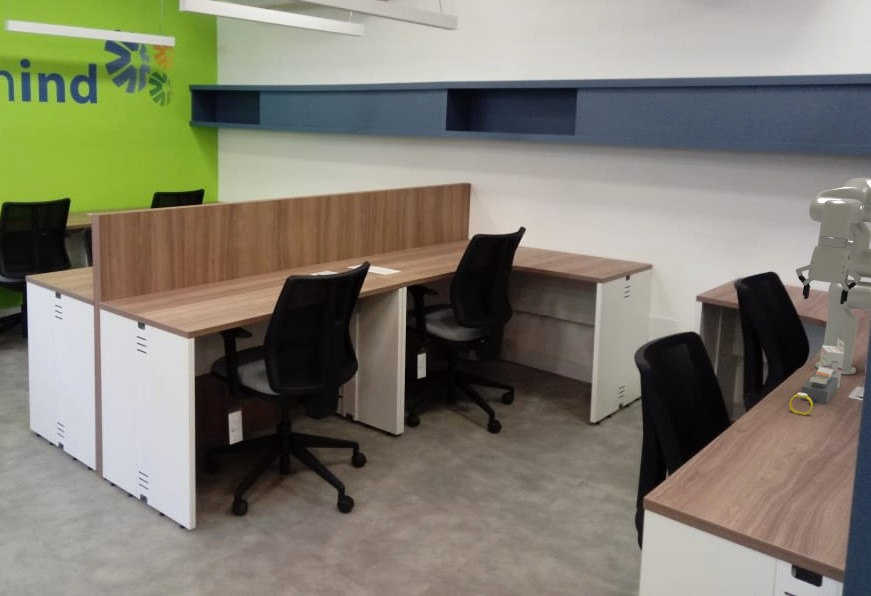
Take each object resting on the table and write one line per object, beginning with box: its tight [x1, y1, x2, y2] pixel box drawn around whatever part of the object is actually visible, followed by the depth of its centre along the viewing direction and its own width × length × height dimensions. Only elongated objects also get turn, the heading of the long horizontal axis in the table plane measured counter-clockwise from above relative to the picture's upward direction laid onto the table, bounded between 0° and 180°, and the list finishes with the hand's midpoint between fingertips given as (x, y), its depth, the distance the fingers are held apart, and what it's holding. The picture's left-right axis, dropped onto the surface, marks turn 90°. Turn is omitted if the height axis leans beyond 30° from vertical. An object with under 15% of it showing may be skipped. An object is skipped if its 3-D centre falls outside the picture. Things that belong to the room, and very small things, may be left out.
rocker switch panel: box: [800, 373, 838, 406], centre depth 243 cm, size 22×7×5 cm, turn 145°
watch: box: [788, 392, 814, 416], centre depth 226 cm, size 6×3×6 cm, turn 55°
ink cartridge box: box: [819, 338, 845, 389], centre depth 255 cm, size 9×5×15 cm, turn 168°
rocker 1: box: [815, 367, 833, 381], centre depth 247 cm, size 6×4×2 cm
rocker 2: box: [809, 376, 828, 384], centre depth 240 cm, size 6×4×2 cm
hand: (823, 301), depth 231 cm, fingers open, 9 cm apart
